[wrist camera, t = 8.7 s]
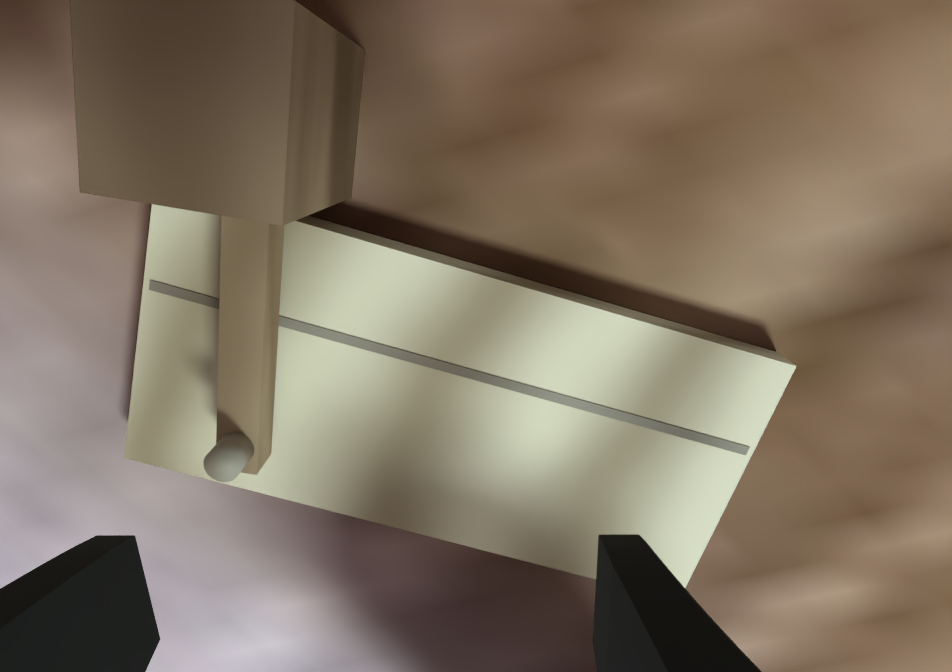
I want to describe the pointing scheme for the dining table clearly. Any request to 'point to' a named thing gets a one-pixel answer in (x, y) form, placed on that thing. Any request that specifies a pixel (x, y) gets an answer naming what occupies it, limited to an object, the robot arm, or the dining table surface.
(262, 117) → the brown block with handle
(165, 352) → the board
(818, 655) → the dining table surface
